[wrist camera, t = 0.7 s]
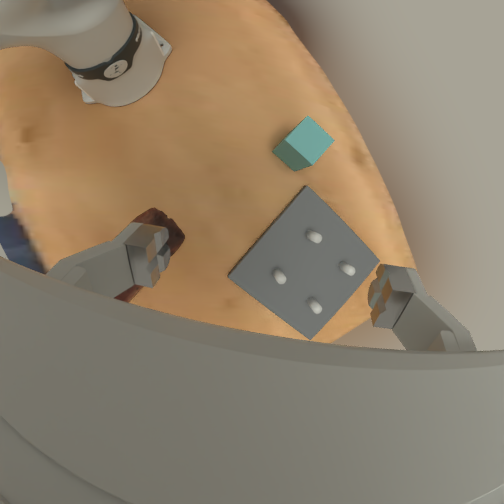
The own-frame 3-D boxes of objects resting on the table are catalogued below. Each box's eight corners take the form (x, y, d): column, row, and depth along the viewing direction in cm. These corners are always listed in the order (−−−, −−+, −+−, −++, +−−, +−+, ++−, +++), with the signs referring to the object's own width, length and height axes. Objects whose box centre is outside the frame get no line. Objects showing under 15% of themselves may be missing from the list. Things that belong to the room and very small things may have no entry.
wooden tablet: (153, 198, 42) (191, 245, 43) (157, 199, 44) (193, 244, 45) (65, 293, 43) (95, 333, 44) (71, 290, 45) (101, 329, 47)
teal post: (271, 151, 43) (284, 139, 33) (290, 131, 43) (307, 115, 33) (294, 171, 44) (312, 165, 34) (312, 151, 44) (334, 140, 34)
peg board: (227, 274, 46) (228, 284, 41) (304, 185, 45) (315, 184, 39) (308, 336, 50) (316, 350, 45) (376, 259, 49) (391, 265, 43)
